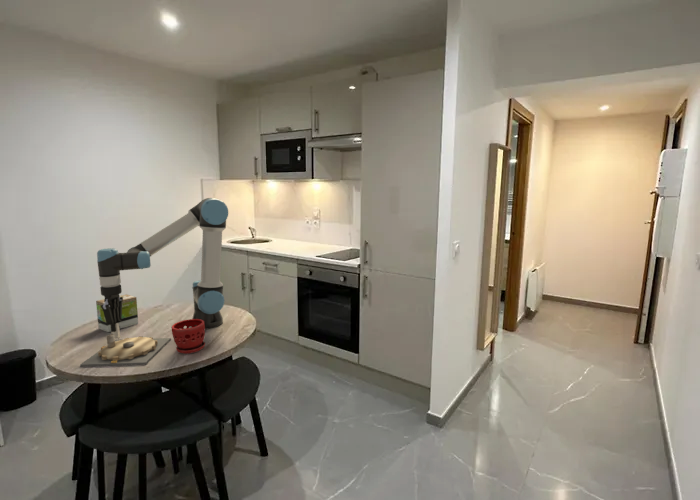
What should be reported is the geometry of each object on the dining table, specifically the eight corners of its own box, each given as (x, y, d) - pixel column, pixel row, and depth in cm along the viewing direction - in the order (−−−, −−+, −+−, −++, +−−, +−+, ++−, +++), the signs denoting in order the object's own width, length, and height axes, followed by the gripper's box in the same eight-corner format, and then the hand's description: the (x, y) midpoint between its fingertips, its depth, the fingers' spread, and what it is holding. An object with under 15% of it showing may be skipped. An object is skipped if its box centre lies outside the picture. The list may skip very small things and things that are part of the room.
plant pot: (200, 341, 175) (198, 316, 173) (210, 350, 165) (208, 324, 163) (170, 348, 167) (167, 322, 165) (178, 359, 157) (176, 331, 155)
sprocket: (165, 338, 174) (164, 325, 173) (143, 360, 153) (142, 344, 152) (116, 340, 173) (114, 326, 172) (86, 361, 151) (84, 346, 150)
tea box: (108, 333, 185) (105, 303, 183) (98, 329, 190) (94, 300, 188) (139, 323, 198) (136, 296, 195) (128, 320, 203) (126, 293, 201)
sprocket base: (170, 340, 176) (170, 336, 176) (146, 364, 152) (145, 360, 151) (114, 341, 174) (114, 338, 174) (80, 366, 150) (79, 363, 150)
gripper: (110, 281, 168) (115, 332, 172) (92, 289, 156) (98, 344, 159) (127, 281, 169) (132, 332, 173) (111, 288, 156) (116, 343, 160)
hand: (116, 337), depth 166 cm, fingers closed
